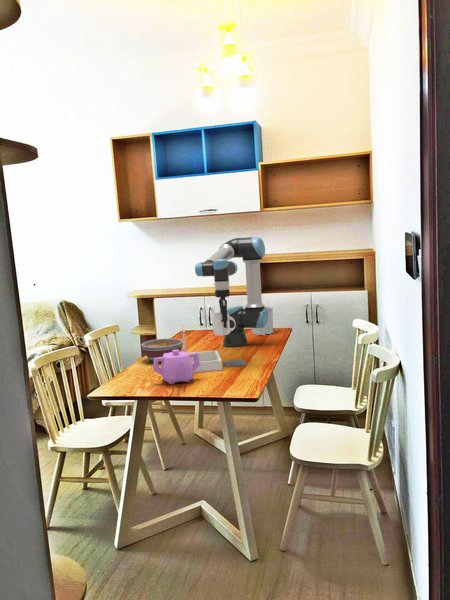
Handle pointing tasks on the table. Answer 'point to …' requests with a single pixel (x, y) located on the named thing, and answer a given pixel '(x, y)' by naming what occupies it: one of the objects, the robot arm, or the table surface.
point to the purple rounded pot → (176, 366)
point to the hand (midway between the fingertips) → (224, 332)
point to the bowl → (160, 347)
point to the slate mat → (234, 363)
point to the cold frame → (205, 358)
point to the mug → (218, 324)
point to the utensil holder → (269, 326)
